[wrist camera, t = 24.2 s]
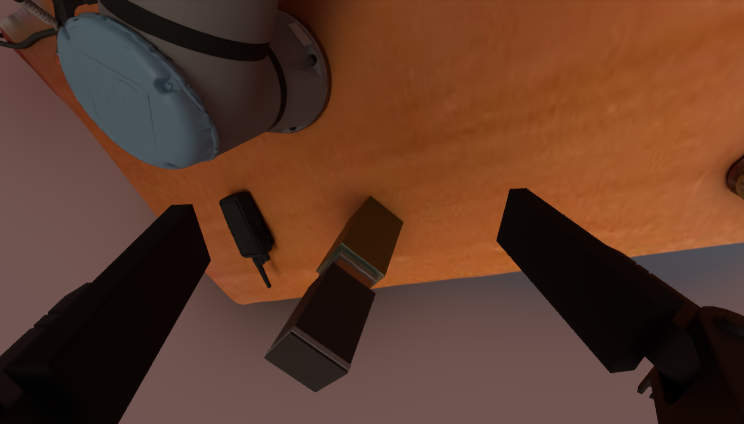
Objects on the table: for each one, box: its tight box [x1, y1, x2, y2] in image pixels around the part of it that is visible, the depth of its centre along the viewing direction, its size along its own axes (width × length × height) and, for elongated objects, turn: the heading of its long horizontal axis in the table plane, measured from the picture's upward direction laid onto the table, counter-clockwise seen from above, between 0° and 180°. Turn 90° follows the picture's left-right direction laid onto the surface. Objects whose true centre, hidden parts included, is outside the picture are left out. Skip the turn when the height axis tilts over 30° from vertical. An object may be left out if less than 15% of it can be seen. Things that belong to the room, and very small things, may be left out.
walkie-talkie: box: [219, 192, 274, 288], centre depth 55 cm, size 6×6×20 cm
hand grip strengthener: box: [14, 0, 98, 65], centre depth 36 cm, size 2×12×15 cm, turn 151°
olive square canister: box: [316, 196, 403, 289], centre depth 42 cm, size 7×7×16 cm
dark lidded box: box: [265, 262, 375, 392], centre depth 32 cm, size 6×6×10 cm
